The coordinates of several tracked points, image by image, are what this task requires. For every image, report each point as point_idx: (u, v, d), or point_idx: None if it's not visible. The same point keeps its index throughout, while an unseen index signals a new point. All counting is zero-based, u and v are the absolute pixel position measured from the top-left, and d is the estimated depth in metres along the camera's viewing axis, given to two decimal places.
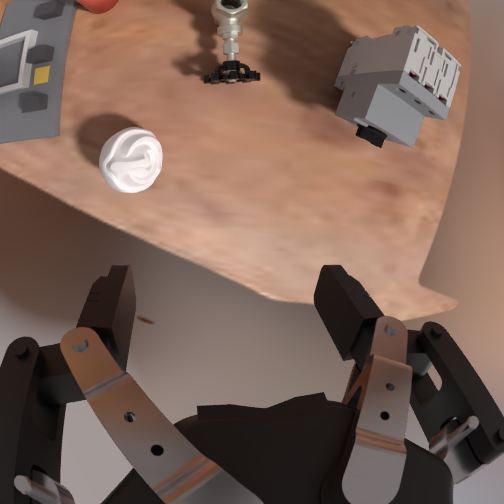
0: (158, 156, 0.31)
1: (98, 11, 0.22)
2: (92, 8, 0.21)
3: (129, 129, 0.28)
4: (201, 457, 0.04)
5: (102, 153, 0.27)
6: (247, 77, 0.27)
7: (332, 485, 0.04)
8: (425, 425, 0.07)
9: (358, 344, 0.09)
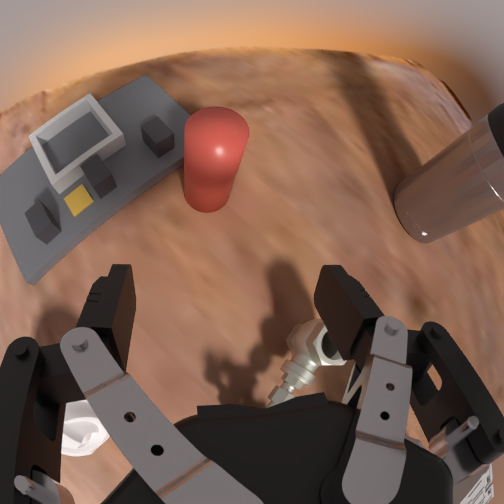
0: (100, 442, 0.17)
1: (189, 201, 0.27)
2: (188, 191, 0.25)
3: None
4: (201, 457, 0.04)
5: None
6: None
7: (332, 485, 0.04)
8: (425, 425, 0.07)
9: (358, 344, 0.09)
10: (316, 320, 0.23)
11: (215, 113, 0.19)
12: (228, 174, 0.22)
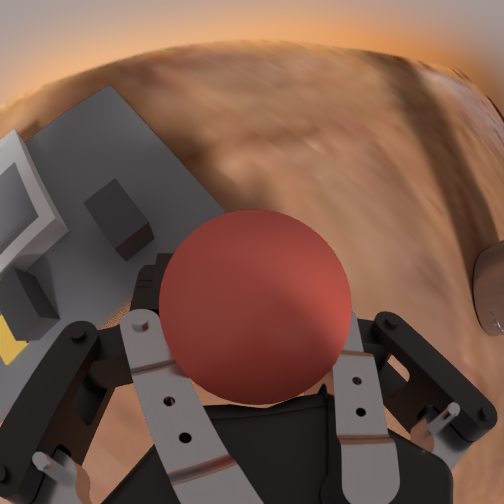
0: None
1: None
2: None
3: None
4: (225, 454, 0.04)
5: None
6: None
7: (332, 485, 0.04)
8: (399, 416, 0.08)
9: None
10: None
11: (252, 239, 0.07)
12: None
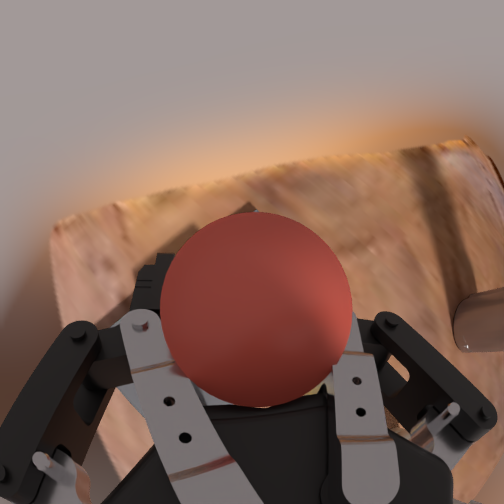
0: None
1: None
2: None
3: None
4: (225, 455, 0.04)
5: None
6: None
7: (332, 485, 0.04)
8: (399, 416, 0.08)
9: None
10: (406, 434, 0.26)
11: (254, 242, 0.07)
12: None
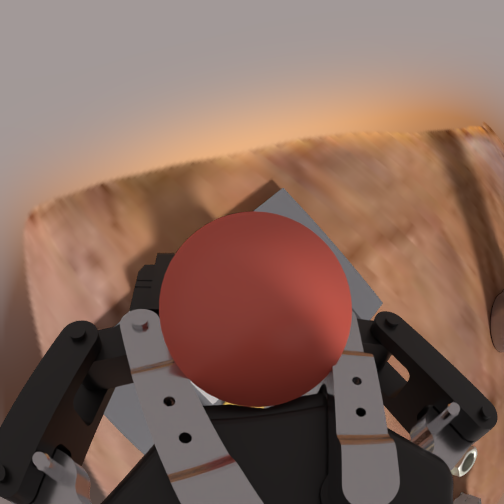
0: None
1: None
2: None
3: None
4: (225, 454, 0.04)
5: None
6: None
7: (332, 485, 0.04)
8: (399, 416, 0.08)
9: None
10: None
11: (253, 241, 0.07)
12: None
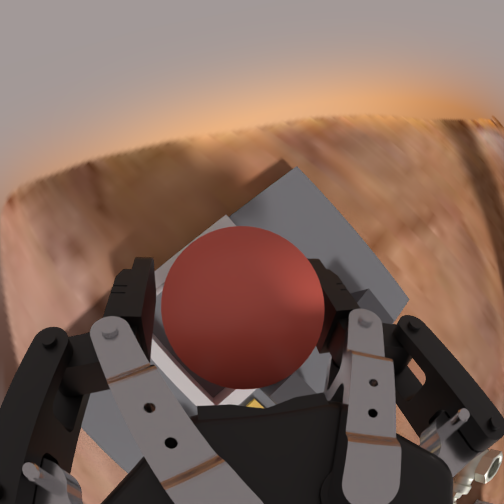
0: None
1: None
2: None
3: None
4: (213, 455, 0.04)
5: None
6: None
7: (332, 485, 0.04)
8: (412, 419, 0.07)
9: (333, 337, 0.10)
10: None
11: (238, 251, 0.08)
12: None
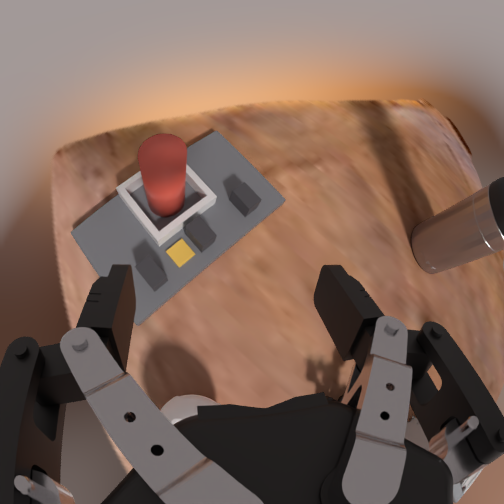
0: None
1: (151, 208, 0.32)
2: (148, 200, 0.30)
3: None
4: (201, 457, 0.04)
5: (181, 408, 0.23)
6: None
7: (332, 485, 0.04)
8: (425, 425, 0.07)
9: (358, 344, 0.09)
10: None
11: (162, 139, 0.25)
12: (174, 187, 0.27)
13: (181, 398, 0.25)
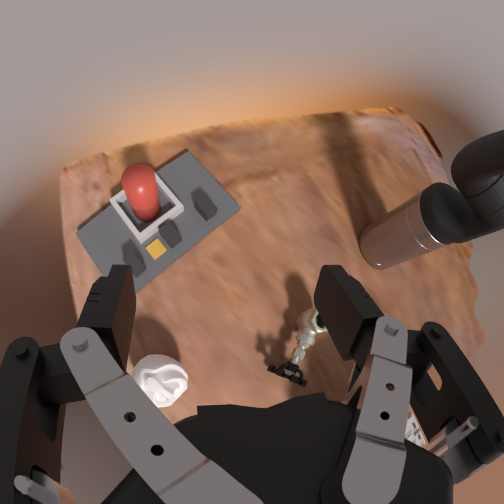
0: (178, 396, 0.35)
1: (135, 215, 0.42)
2: (132, 209, 0.40)
3: (178, 365, 0.35)
4: (201, 457, 0.04)
5: (149, 361, 0.33)
6: (299, 383, 0.38)
7: (332, 485, 0.04)
8: (425, 425, 0.07)
9: (358, 344, 0.09)
10: (311, 308, 0.42)
11: (138, 167, 0.34)
12: (148, 201, 0.37)
13: (150, 355, 0.35)
